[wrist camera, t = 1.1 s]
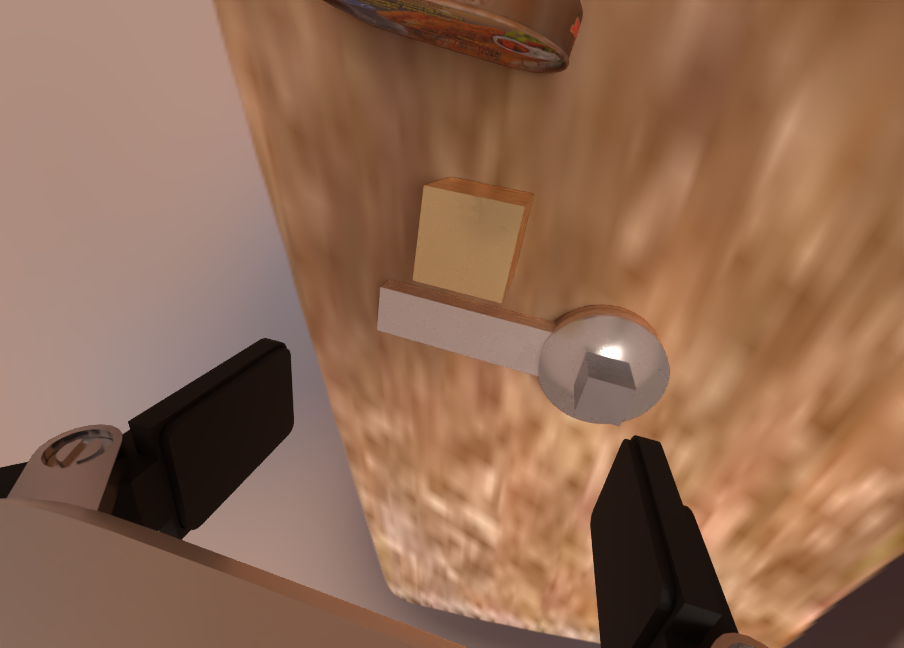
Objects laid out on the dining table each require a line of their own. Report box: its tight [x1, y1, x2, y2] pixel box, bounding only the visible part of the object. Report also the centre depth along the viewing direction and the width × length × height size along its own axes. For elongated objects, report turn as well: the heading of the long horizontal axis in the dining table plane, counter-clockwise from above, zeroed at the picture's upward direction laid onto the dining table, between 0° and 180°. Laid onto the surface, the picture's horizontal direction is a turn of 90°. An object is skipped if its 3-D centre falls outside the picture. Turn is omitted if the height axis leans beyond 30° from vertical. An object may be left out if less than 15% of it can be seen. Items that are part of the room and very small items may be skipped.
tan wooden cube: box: [413, 177, 534, 303], centre depth 26 cm, size 6×6×6 cm
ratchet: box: [377, 279, 670, 426], centre depth 29 cm, size 9×22×6 cm, turn 79°
